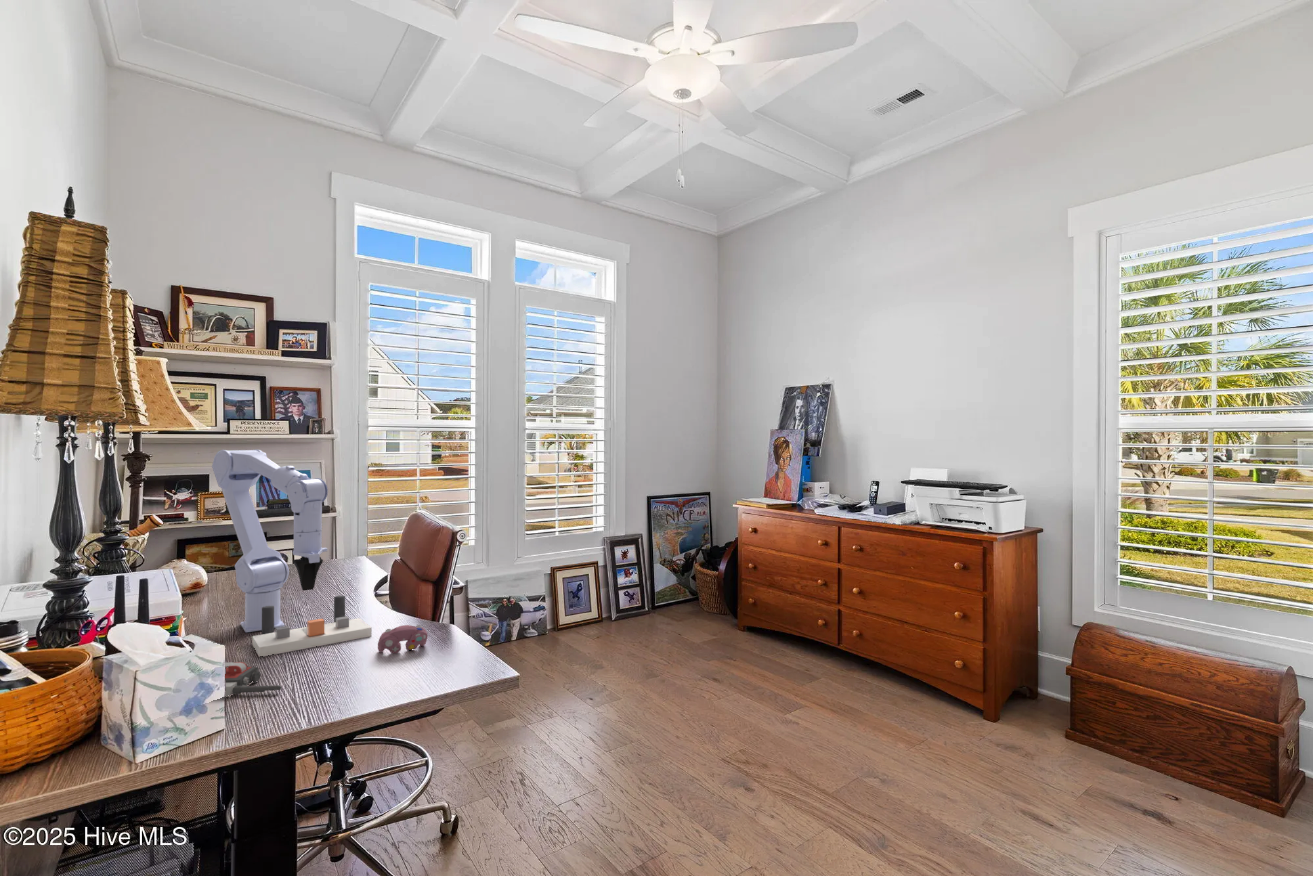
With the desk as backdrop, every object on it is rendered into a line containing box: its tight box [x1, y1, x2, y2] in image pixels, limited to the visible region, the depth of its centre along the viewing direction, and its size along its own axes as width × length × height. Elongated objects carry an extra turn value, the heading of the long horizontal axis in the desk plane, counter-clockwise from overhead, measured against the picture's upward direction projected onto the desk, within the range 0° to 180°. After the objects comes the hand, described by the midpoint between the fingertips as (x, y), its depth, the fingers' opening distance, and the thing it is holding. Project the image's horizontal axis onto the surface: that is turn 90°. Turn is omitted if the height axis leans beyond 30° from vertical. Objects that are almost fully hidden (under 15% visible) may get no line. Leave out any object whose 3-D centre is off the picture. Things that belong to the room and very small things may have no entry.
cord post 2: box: [333, 595, 346, 623], centre depth 153 cm, size 2×2×7 cm
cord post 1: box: [261, 606, 275, 635], centre depth 144 cm, size 2×2×7 cm
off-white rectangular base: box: [251, 615, 373, 658], centre depth 141 cm, size 10×22×4 cm, turn 130°
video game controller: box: [377, 624, 429, 654], centre depth 134 cm, size 10×5×7 cm, turn 118°
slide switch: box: [306, 618, 325, 637], centre depth 139 cm, size 2×3×3 cm, turn 130°
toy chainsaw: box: [224, 661, 282, 696], centre depth 114 cm, size 9×4×20 cm
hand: (307, 589), depth 146 cm, fingers closed
